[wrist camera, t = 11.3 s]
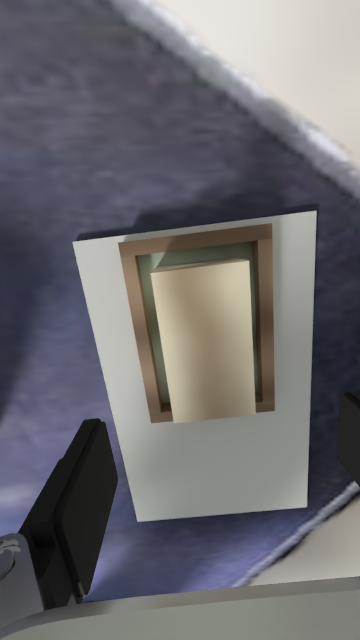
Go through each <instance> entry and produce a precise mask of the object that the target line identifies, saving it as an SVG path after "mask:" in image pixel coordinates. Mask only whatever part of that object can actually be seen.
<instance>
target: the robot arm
mask: <svg viewBox="0 0 360 640" xmlns="http://www.w3.org/2000/svg"><path fill="white" fill-rule="evenodd" d="M337 454H338V457H339V460H340V462H341V463H342V464H343V466H344V467H345V468H346V470H347V471H348V472H349V474H350V475H351V476H352V478H353V479H354V480H355V482H356V483H357V484H358V486H359V487H360V390H355V391H346V392H345V393H344V396H341V398H340V411H339V429H338V447H337ZM117 482H118V476H117V471H116V466H115V462H114V458H113V454H112V449H111V445H110V441H109V437H108V432H107V428H106V424H105V422H101V420H100V419H99V418H97V419H87V420H84V421H83V422H82V424H81V426H80V428H79V430H78V432H77V433H76V435H75V437H74V439H73V441H72V442H71V444H70V446H69V448H68V450H67V451H66V453H65V455H64V457H63V458H62V459H60V460H59V462H58V463H57V465H56V466H55V468H54V470H53V472H52V473H51V475H50V477H49V479H48V480H47V482H46V484H45V486H44V488H43V489H42V491H41V493H40V495H39V496H38V498H37V500H36V502H35V503H34V505H33V507H32V509H31V511H30V512H29V514H28V516H27V518H26V519H25V521H24V523H23V525H22V526H21V528H20V530H19V532H18V533H11V534H7V535H4V536H2V537H0V640H360V577H348V578H336V579H324V580H314V581H302V582H290V583H279V584H268V585H257V586H245V587H234V588H223V589H213V590H202V591H192V592H182V593H171V594H161V595H150V596H140V597H131V598H122V599H114V600H106V601H97V602H89V603H81V602H82V598H83V595H87V594H88V593H89V590H90V587H91V583H92V580H93V576H94V572H95V568H96V564H97V560H98V556H99V553H100V549H101V545H102V541H103V537H104V533H105V530H106V526H107V522H108V518H109V514H110V510H111V506H112V503H113V499H114V495H115V491H116V487H117Z"/></svg>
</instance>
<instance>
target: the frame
mask: <svg viewBox="0 0 360 640" xmlns="http://www.w3.org/2000/svg"><path fill="white" fill-rule="evenodd" d="M118 246H119V252H120V257H121V263H122V268H123V274H124V279H125V284H126V290H127V295H128V301H129V306H130V312H131V317H132V323H133V328H134V333H135V339H136V344H137V350H138V355H139V361H140V366H141V372H142V377H143V382H144V388H145V393H146V399H147V404H148V410H149V415H150V420H151V423H161V422H171V421H173V415H172V408H171V402H170V396H169V389H168V383H167V376H166V370H165V363H164V357H163V351H162V344H161V338H160V331H159V325H158V319H157V312H156V306H155V299H154V293H153V286H152V280H151V274H150V273H151V272H152V271H153V270H154V269H155V268H156V267H161V266H169V265H177V264H185V263H193V262H201V261H209V260H217V259H225V258H232V257H237V258H241V259H244V260H248V261H249V268H250V291H251V315H252V338H253V361H254V384H255V407H256V413H260V412H270V411H275V380H274V310H273V240H272V223H268V224H261V225H253V226H245V227H237V228H229V229H221V230H214V231H206V232H198V233H190V234H182V235H174V236H166V237H159V238H151V239H143V240H135V241H127V242H119V243H118Z"/></svg>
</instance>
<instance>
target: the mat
mask: <svg viewBox="0 0 360 640" xmlns="http://www.w3.org/2000/svg"><path fill="white" fill-rule="evenodd" d="M316 213H317V211H310V212H302V213H294V214H286V215H278V216H271V217H263V218H255V219H247V220H240V221H232V222H224V223H216V224H208V225H201V226H193V227H185V228H177V229H169V230H162V231H154V232H146V233H138V234H130V235H123V236H115V237H107V238H99V239H92V240H84V241H76V242H73V246H74V251H75V255H76V259H77V263H78V268H79V272H80V276H81V281H82V285H83V289H84V293H85V298H86V302H87V306H88V311H89V315H90V319H91V323H92V328H93V332H94V336H95V341H96V345H97V349H98V353H99V358H100V362H101V366H102V371H103V375H104V379H105V383H106V388H107V392H108V396H109V401H110V405H111V409H112V414H113V418H114V422H115V426H116V431H117V435H118V439H119V444H120V448H121V452H122V456H123V461H124V465H125V469H126V474H127V478H128V482H129V486H130V491H131V495H132V499H133V504H134V508H135V512H136V516H137V521H138V522H142V521H153V520H164V519H176V518H187V517H199V516H210V515H222V514H233V513H245V512H256V511H268V510H279V509H291V508H302V507H307V487H308V457H309V426H310V396H311V365H312V335H313V304H314V274H315V243H316ZM268 223H272V240H273V310H274V380H275V411H270V412H260V413H256V415H251V416H241V417H231V418H221V419H212V420H202V421H192V422H183V423H174V421H171V422H161V423H151V420H150V415H149V410H148V404H147V399H146V393H145V388H144V382H143V377H142V372H141V366H140V361H139V355H138V350H137V344H136V339H135V333H134V328H133V323H132V317H131V312H130V306H129V301H128V295H127V290H126V284H125V279H124V274H123V268H122V263H121V257H120V252H119V246H118V243H119V242H127V241H135V240H143V239H151V238H159V237H166V236H174V235H182V234H190V233H198V232H206V231H214V230H221V229H229V228H237V227H245V226H253V225H261V224H268Z"/></svg>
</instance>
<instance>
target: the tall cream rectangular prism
mask: <svg viewBox="0 0 360 640" xmlns="http://www.w3.org/2000/svg"><path fill="white" fill-rule="evenodd" d="M150 274H151V280H152V286H153V293H154V299H155V306H156V312H157V319H158V325H159V331H160V338H161V344H162V351H163V357H164V363H165V370H166V376H167V383H168V389H169V396H170V402H171V408H172V415H173V421H174V423H183V422H192V421H202V420H212V419H221V418H231V417H241V416H251V415H256V407H255V384H254V361H253V338H252V315H251V291H250V268H249V261H248V260H244V259H241V258H237V257H232V258H225V259H217V260H209V261H201V262H193V263H185V264H177V265H169V266H161V267H156V268H155V269H154V270H153V271H152V272H151V273H150Z"/></svg>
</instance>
